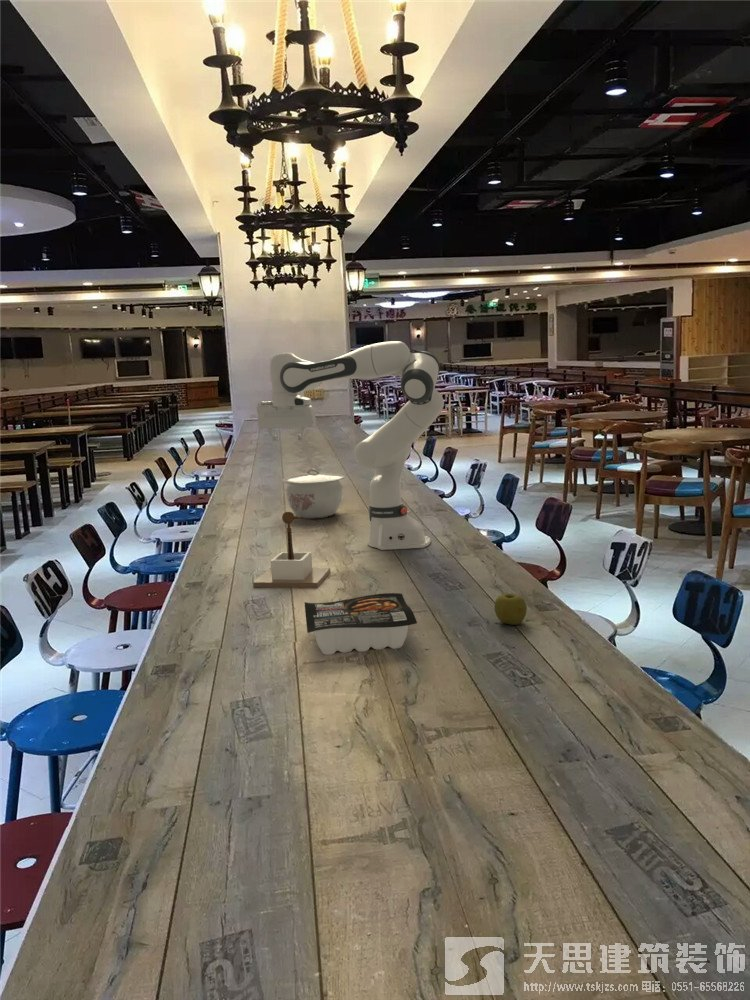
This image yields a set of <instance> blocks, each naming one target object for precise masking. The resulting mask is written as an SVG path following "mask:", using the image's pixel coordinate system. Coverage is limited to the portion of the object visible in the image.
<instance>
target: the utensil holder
mask: <svg viewBox="0 0 750 1000" xmlns="http://www.w3.org/2000/svg"><path fill="white" fill-rule="evenodd" d="M293 554H294V560H288V551H280V552H278V553H277V555H275V556H273V558H272V559H271V560H270V567H269V568H268V569H266V571H264V572H263V573H262V574H261V575H260V576H259V577H257V578H256V579H255V580H254V581H253V582H252V585H253V588H295V589H296V588H298V589H299V588H301V589H303V588H311V589H313V588H315V589H318V588H319V587H320V586H321V584H322V583H323V582H324V581H325V580H326V579H327V577H328V576H329V575H330V574H331V567H313V561H312V552H311V551H293Z"/></svg>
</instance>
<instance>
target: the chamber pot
mask: <svg viewBox="0 0 750 1000" xmlns="http://www.w3.org/2000/svg"><path fill="white" fill-rule="evenodd" d="M345 478H346V475H345V474H342V473H340V472H334V471H319V470H317V469H315V468H312V467H311V468H309V469H308V470H307V472H301V473H299V472H298V473H295V474H291V475H287V476H285V477H282V479H281V482H282V483H284V484H287V487H286V489H285V498H286V501H287V505H288V506H289V508H290V509H291V512H292V513H293V514H294V516H300V519H301V518H302V519H305V518H306V519H305V520H307V519H308V520H318V519H317V518H319V519H324V517H325V518H328V516H329V517H330V516H333V515H335V514H336V513H337V511H338V510H339V508H340V506H341V504H342V502H343V496H344V487H343V485H342V483H341V480H344V479H345Z"/></svg>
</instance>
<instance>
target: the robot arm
mask: <svg viewBox="0 0 750 1000" xmlns="http://www.w3.org/2000/svg"><path fill="white" fill-rule="evenodd" d="M269 364H270V365H269V374H270V375H269V377H270V382H271V387H272V389H271V401H260V403H258V404H257V406H256V412H257V426H258V428H259V429H261V430H262V429H267V431H268V434H269V435H270V436H271V441H272V442H277V441H278V435H275V433H274V431H275V429H283V428H284V429H287V428H299V429H300V431H301V433H300V434H299V435H297V438H298V439H297V440H298V441H304V435H305V433H306V431H307V428H313V427H315V425H316V424H317V420H316V413H315V409H314V407H313V405H311V404H312V399H311V398H310V397H308V396H307V397H306V396H303V395H300V394H298V393H301V392H305V391H311V390H315V389H317V388H318V387H320V386H321V384H322V383H323V382H326V381H330V380H331V381H332V380H336V379H354V380H370V379H371V380H372V379H379V378H384V377H387V376H398V377H401V379H400V389H401V391H402V393H403V395H404V397H405V398H407V399H408V401H407V402H406V403H404V405H403V406H402V407H401V408H400V409H399V410H398V412H396V414H395V415H394V416H392V418H390V420H389V421H387V422H386V423H385V424H382V426H380V427H379V428H377V429H376V430H375V431H374V432H373V433H372V434H370V435H369V436H368V437H366V438H365V439H363V440H362V441H360V442H359V443H357V445H356V446H355V448H354V451H353V453H354V455H353V457H354V460H355V462H356V464H357V465H358V466H359V467H360V468H362V469H365V470H367V469H368V470H375V471H374V475H373V478H372V479H371V481H370V482H369V490H368V491H369V503H370V504H369V506H368V515H369V522H370V529H369V536H368V542H367V545H368V546H369V547H371V548H377V549H379V550H380V551H381V550H382V551H386V550H407V549H408V550H409V549H423V548H426V547H428V546H429V545H430V544H431V538H430V537H429V536H427V535H425V532H424V527H423V526H422V524H421V523H420V522H419V521H417V520H416V519H414V518H413V517H412V516H410V515H408V506H407V504H406V505H404V504H403V503H402V497H401V495H402V493H401V492H402V491H401V489H402V488H401V486H402V483H401V482H402V476H403V473H404V472H403V471H404V467H405V464H406V461H407V459H408V458H409V456H410V454H411V450H412V445H411V444H413V443H415V442H416V441H417V440H418V438H420V436H422V435H423V433H424V432H425V431H426V430H427V429H428V428H429V427H431V425H432V424H434V422H435V421H436V419H437V418H438V417H439V415H440V413H442V411H443V408H444V406H445V400H444V398H443V396H442V394H441V393H440V392H439V391H438V390H437V389H436V387H435V386H436V384H437V382H438V379H439V378H438V377H439V374H440V372H441V371H440V370H441V366H440V361H439V359H438V357H437V356H436V355H435V354H434V353H433V352H429V351H425V350H423V351H422V350H418V349H412V350H410V348H409V347H408V345H407V344H406V343H405V342H403V341H400V340H399V341H397V340H395V341H394V340H393V341H392V340H391V341H383V342H377V343H371V344H369V345H365V346H363V347H362V346H361V347H359V348H357V349H355V350H352V351H350V352H348V353H344V354H343V355H341V356H338V357H335V358H332V359H331V358H330V359H327V360H323V361H318V362H312V361H309V360H307V359H306V360H305V359H302V358H301V357H298V356H297V355H295V354H294V353H293V352H283V353H282V352H281V353H278V354H275V355H274V356H272V357H271V359H270V363H269Z"/></svg>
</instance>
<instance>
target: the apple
mask: <svg viewBox="0 0 750 1000" xmlns="http://www.w3.org/2000/svg"><path fill="white" fill-rule="evenodd" d="M527 607H528V606H527V603H526V600H525V599H524V598H523V597H522V596H520V595H519V594H518V593H517V594H516V593H503V594H501V595H499V596H497V598H496V599H495V601H494V612H495V615H496V617H497V619H498V620H499V621H500V622H501V623H503V624H507V625H512V626H517V625H520V624H521V623H522V622H523V621H524V620H525V618H526V615H527V611H528V609H527Z"/></svg>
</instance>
